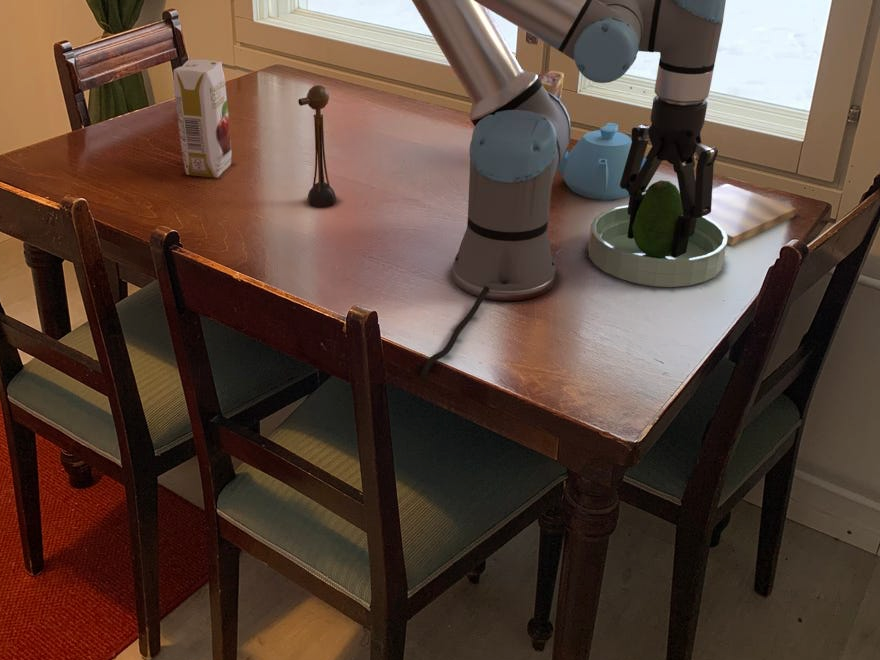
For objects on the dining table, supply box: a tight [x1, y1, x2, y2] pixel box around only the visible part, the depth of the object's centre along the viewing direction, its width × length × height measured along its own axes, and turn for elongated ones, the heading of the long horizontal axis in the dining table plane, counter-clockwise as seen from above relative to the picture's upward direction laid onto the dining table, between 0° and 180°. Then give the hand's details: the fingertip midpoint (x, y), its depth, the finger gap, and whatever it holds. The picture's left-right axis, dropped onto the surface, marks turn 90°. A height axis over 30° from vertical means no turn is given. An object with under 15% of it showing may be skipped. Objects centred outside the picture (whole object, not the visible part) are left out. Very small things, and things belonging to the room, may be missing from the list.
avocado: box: [632, 179, 683, 258], centre depth 153 cm, size 8×8×12 cm
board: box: [705, 183, 797, 246], centre depth 169 cm, size 18×14×2 cm
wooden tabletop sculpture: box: [297, 84, 337, 209], centre depth 167 cm, size 6×5×20 cm
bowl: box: [587, 204, 728, 288], centre depth 155 cm, size 20×20×4 cm
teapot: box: [558, 122, 646, 201], centre depth 176 cm, size 15×15×11 cm
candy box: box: [538, 69, 565, 102], centre depth 186 cm, size 9×4×15 cm, turn 157°
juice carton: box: [173, 58, 233, 179], centre depth 179 cm, size 8×9×19 cm
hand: (656, 244), depth 155 cm, fingers closed on avocado, 8 cm apart
